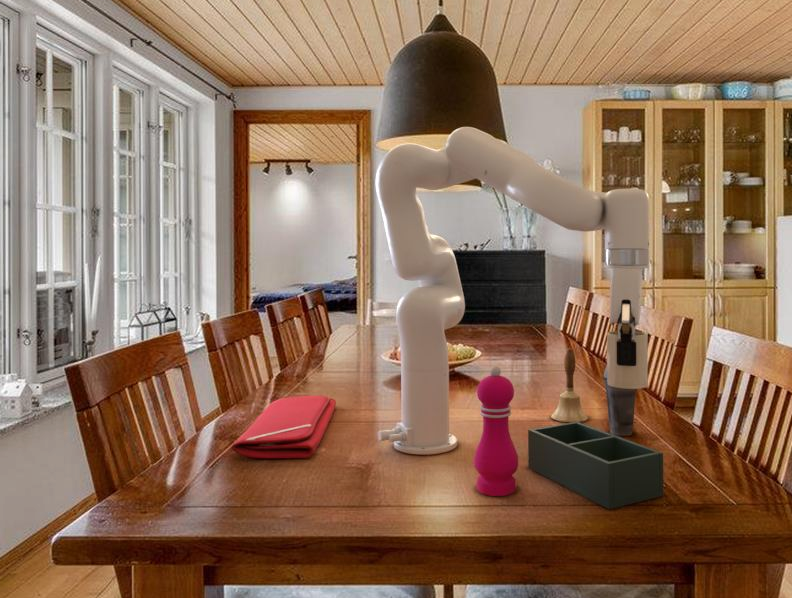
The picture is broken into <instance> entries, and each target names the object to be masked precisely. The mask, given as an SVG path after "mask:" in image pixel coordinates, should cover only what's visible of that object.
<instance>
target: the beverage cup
mask: <svg viewBox="0 0 792 598" xmlns="http://www.w3.org/2000/svg"><path fill="white" fill-rule="evenodd" d="M602 377H603V378H602V379H603V383H604V384H603V385H604V388H605V392H606V405H607V417H608V425H609V433H610V434H613V435H615V436H618V437H629V436H632V435H633V429H634V421H635V408H636V395H637V393H636V392H637V389H624V388H617V387H612V386H610V385H608V384H607V366H605V368H604V371H603V376H602Z"/></svg>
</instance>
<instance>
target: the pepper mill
mask: <svg viewBox="0 0 792 598" xmlns="http://www.w3.org/2000/svg"><path fill="white" fill-rule="evenodd" d="M501 373H502V370H501V368H500V367H499V366H498V365H493V366H492V367H490V369H489V374H490V375H488V376H485V377H483V378H482V379H481V380H480V381H479V382H478V384H477V388H476V395H477V398H478V400H479V402H480V403H481V405H480V407H479V408H480V412H479V413H480V415H481V416H482V422H483V425H482V433H481V437H480V440H479V443H478V445H477V447H476V450H475V453H474V456H473V466H474V469H475V470H476V472H477V473H478V474H479V475H478V476H477V478H476V489H477V491H478V492H479V493H480V494H482V495H485V496H489V497H504V496H505V497H506V496H508V495H512V494H513V493H514V492H515V491H516V489H517V488H516V486H517V485H516V483H517V482H516V480H517V479H516V478H515V476H514V474H515V473H516V472H517V470H518V469H519V456H518V451H517V450H516V449H517V448H516V447H515V445H514V442H513V439H512V438H511V433H510V430H509V429H510V428H509V427H510V426H509V417H510V416H511V415H512V412H511V409H512V406H511V405H510V403H511V402H512V401H513V399H514V396H515V389H514V385H513V383H512V382H511V380H509V378H507V377H506V376H503V375H501Z"/></svg>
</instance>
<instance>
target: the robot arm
mask: <svg viewBox="0 0 792 598" xmlns="http://www.w3.org/2000/svg"><path fill="white" fill-rule="evenodd" d="M476 179H477V180H478V181H480V182H482V183H484V184H486V185H487V186H489V187H491V188H493V189H495V190H497V191H498V192H499V193H502V194H503V195H505V196H507V197H509V198H510V199H511V200H514V201H515V202H518V203H519V204H521V205H523V206H524V207H526V208H527V209H529V210H531V211H532V212H535V213H536V214H538V215H539V216H541V217H543V218H546V219H547V220H548V221H550V222H552V223H554V224H557V225H558V226H560V227H562V228H564V229H567V230H568V231H569V230H570V231H577V232H596V231H603V230H604V268H605V269H610V278H609V279H610V280H609V282H610V283H609V325H611V326H614V325H615V323H617V331H618V341H617V365H621V366H636V342H635V331H637V326H639V324H640V319H641V312H642V300H643V299H642V298H643V269H650V198H649V194H648V192H647V191H646V190H644V189H641V188H615V189H611V190H609V191H608V192H603V191H594V190H590V189H587V188H585V187H582V186H580V185H578V184H576V183H574V182H572V181H570V180H568V179H566V178H564V177H563V176H560V175H557V174H556V173H554V172H553V171H550V170H548V169H547V168H545V167H544V166H542V165H540V163H538V162H537V161H536V160H535V159H534V157H532V156H530V155H529V154H527V153H525V152H523V151H521V150H519V149H517V148H515V147H513V146H512V145H509V144H507V143H505V142H503V141H502V140H499V139H497V138H496V137H494V136H493V135H492V134H489V133H487V132H485V131H483V130H480V129H478V128H475V127H472V126H462V127H459V128H456V129H455V130H453V131H452V132H451V133H450V134H449V136H448V137H447V139H446V142H445V146H444V147H442V148H439V149H434V148H431V147H428V146H425V145H421V144H418V143H413V142H412V143H409V142H408V143H401V144H398V145H396V146H394V147H393V148H391V149H390V150H388V152H387V153H386V154H384V156H383V157H382V159H381V161H380V163H379V165H378V168H377V170H376V173H375V193H376V196H377V200H378V205H379V207H380V208H379V209H380V211H381V216H382V220H383V226H384V231H385V235H386V241H387V246H388V250H389V254H390V260H391V264H392V267H393V270H394V272H395V274H396V275H397V276H398V277H399V278H400V279H402V280H405V281H409V282H411V281H412V282H418V287H413V288H412V289H409V290H407V291H406V292H405V293H404V294H403V295H402V296H401V297H400V298H399V301H398V302H397V306H396V312H395V313H396V314H395V315H396V316H395V317H396V319H395V320H396V325H397V331H398V336H399V337H398V338H399V345H400V390H401V392H400V399H401V400H400V404H401V407H400V408H401V409H400V410H401V411H400V412H401V415H400V419H401V421H400V422H396V426H394V427H393V428H392V429H384V430H379V431H377V440H378V441H379V442H384V441H389V442H390V443H393V447H394V449H395V450H397V451H398V452H401V453H404V454H409V455H417V456H419V455H421V456H426V455H427V456H428V455H429V456H430V455H438V454H443V453H447V452H450V451H453V450H454V449H456V448H457V446H458V439H457V437H456V436H455V435H453V434H451V433H450V365H449V364H450V363H449V360H450V359H449V347H448V342H447V338H446V334H445V331H446V330H449V329H451V328H454V327H455V326H456V325H458V324H459V323H460V322H461V321H462V319H463V317H464V314H465V310H466V301H465V296H464V291H463V286H462V281H461V277H460V273H459V268H458V264H457V259H456V256H455V253H454V251H453V248H452V247H451V245H450V244H449V243H448V241H447V240H445V239H444V238H443V237H442V236H440V235H436V234H431V233H430V230H429V226H428V223H427V218H426V213H425V209H424V207H423V204H422V202H421V201H420V200H421V199H420V198H419V196H418V193H417V189H424V190H428V191H429V190H430V191H437V190H443V189H448V188H450V187H453V186H456V185H460V184H463V183H467V182H469V181H474V180H476Z"/></svg>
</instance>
